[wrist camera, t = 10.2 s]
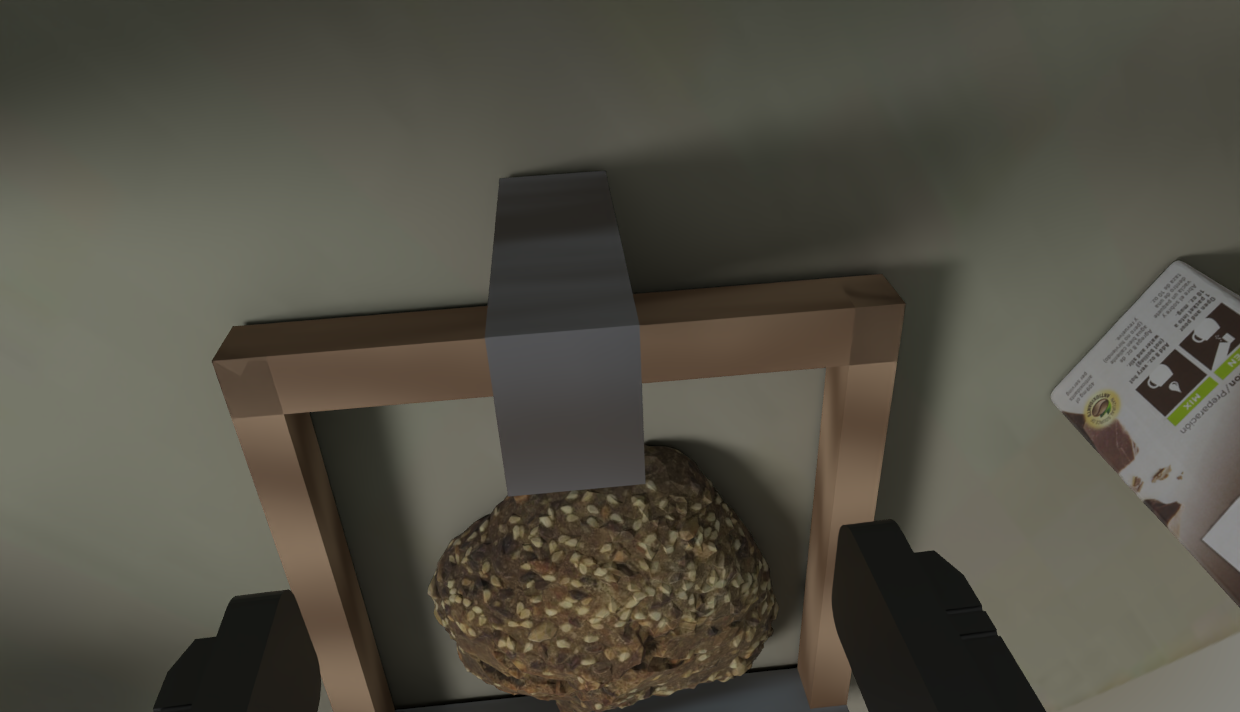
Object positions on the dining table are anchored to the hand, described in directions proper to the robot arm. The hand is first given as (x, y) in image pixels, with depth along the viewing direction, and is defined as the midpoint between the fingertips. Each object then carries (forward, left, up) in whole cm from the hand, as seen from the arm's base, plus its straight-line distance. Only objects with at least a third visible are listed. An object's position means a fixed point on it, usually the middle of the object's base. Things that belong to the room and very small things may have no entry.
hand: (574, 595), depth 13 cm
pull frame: (+11, 0, -14) cm, 18 cm away
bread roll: (+15, 0, -15) cm, 22 cm away
